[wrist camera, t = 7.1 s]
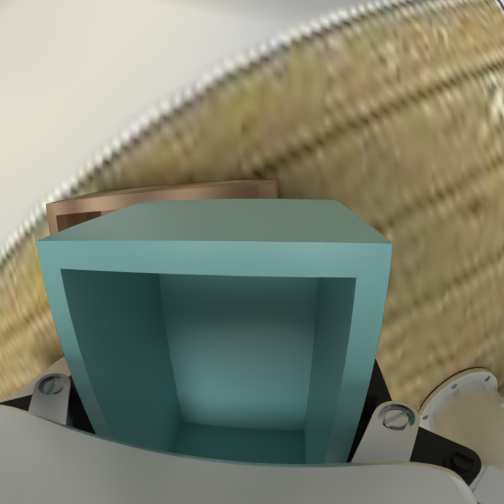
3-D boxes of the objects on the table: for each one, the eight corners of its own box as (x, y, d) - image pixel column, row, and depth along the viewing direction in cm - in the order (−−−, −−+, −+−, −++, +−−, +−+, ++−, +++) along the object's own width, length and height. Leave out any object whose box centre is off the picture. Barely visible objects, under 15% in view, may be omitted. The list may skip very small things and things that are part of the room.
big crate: (277, 178, 27) (274, 184, 19) (281, 342, 31) (278, 393, 24) (96, 192, 29) (45, 204, 21) (120, 334, 33) (86, 373, 26)
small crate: (336, 199, 11) (393, 243, 5) (314, 429, 14) (318, 531, 8) (144, 201, 11) (36, 240, 6) (176, 419, 14) (139, 511, 9)
